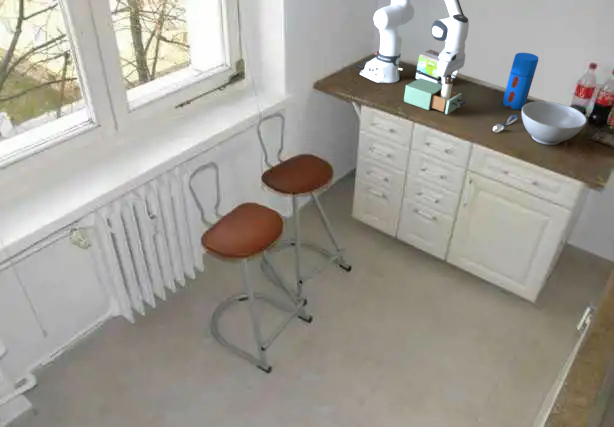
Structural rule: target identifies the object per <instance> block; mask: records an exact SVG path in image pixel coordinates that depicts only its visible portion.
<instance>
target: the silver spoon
mask: <svg viewBox="0 0 614 427" xmlns="http://www.w3.org/2000/svg"><path fill="white" fill-rule="evenodd" d="M518 118H519V117H518V115H517V114H512V115H510V116H509V117H508V118H507V120H506V122H505V123H496V124H494V125H493V126H492V131H493V133H495V134H496V133H499V132H502V131H503V130H504V129H505V126H509V125H511V124H513V123H515V122H516V121H517V119H518Z"/></svg>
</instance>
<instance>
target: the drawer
mask: <svg viewBox="0 0 614 427" xmlns="http://www.w3.org/2000/svg"><path fill="white" fill-rule="evenodd" d="M440 96H441V90H440V91H438V92H436V93H435V94H433V95H432V98H431V103H430V107H431V109H434V110H437V111H440V112H444V115H449V114H450V113H452V112H453V111H455V110H456V109H458V108H460V107H462V106H464V105H465V104H466V103H467V100H462V96H463V93H461V92H459V93H457V92H456V91H455V92H454V91H452V90H451V95H450V99H449V100H448V101H447V105H446V107H445V104H446V99H444V98H441V97H440Z"/></svg>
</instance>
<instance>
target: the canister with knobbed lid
mask: <svg viewBox="0 0 614 427" xmlns="http://www.w3.org/2000/svg"><path fill="white" fill-rule="evenodd" d="M446 80H447V81H446V83H445V84H443V85H442V90H441V96H440V97H441V98H444V99H446V104H445V107H446V105H447V101H448V100H449V99H450V95H451V91H452V89H453V84H454V83H453V82H454V79H453V78H451V77H450V76H449V77H447V78H446Z"/></svg>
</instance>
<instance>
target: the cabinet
mask: <svg viewBox="0 0 614 427" xmlns="http://www.w3.org/2000/svg"><path fill="white" fill-rule="evenodd" d="M404 88H405V90H404V96H403V102H404V103H407V104H409V105H413V106H415V107H417V108H421V109H424V110H427V111H430V110H431V109H432V108H431V107H430V103H431V98H432V95H433V94H435V93H436V92H438V91H440V90H442V85H441V84H438V83H435V82H432V81H428V80H425V79H422V78H419V79H416V80H413V81H411V82H410V83H408V84H405V87H404Z"/></svg>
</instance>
